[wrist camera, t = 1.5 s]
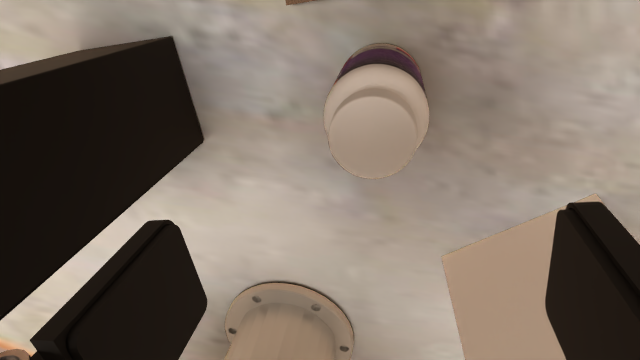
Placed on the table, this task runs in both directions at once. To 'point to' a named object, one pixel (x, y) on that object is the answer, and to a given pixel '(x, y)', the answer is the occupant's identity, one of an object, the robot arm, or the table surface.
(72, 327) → the robot arm
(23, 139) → the tissue box
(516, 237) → the milk
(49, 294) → the table surface
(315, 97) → the table surface
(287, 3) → the holder
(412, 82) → the pill bottle
